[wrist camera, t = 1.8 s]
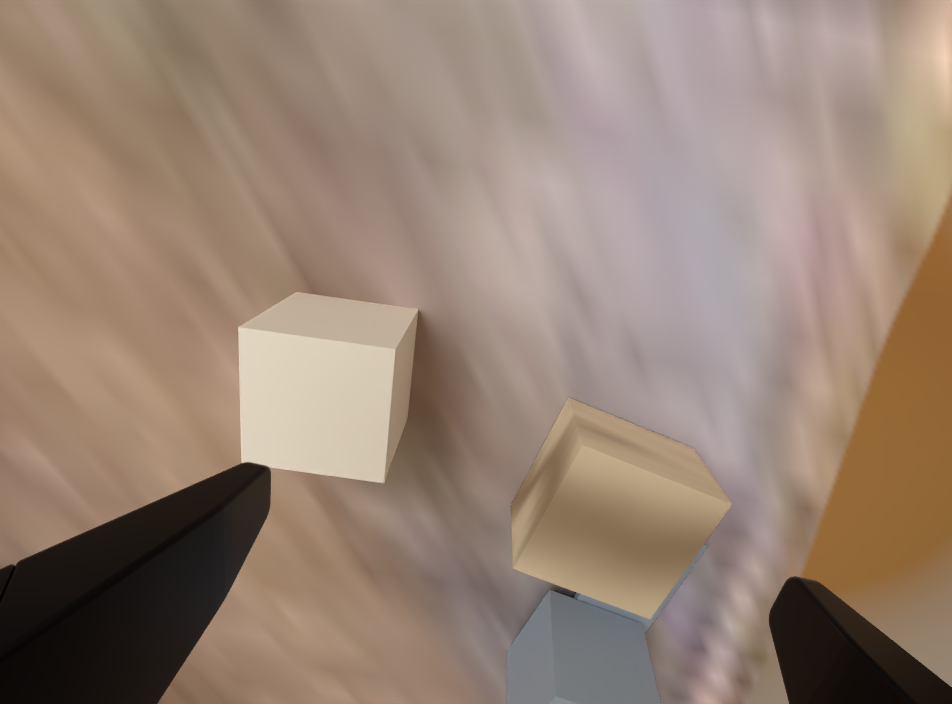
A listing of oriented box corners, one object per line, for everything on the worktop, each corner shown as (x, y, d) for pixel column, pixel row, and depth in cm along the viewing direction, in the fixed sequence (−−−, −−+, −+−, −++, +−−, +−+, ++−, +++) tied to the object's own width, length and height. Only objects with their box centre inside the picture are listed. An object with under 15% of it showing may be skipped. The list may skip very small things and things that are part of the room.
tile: (641, 628, 26) (643, 635, 26) (570, 602, 26) (571, 609, 25) (705, 540, 24) (708, 545, 24) (628, 510, 24) (630, 515, 23)
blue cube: (593, 680, 27) (607, 793, 23) (507, 650, 27) (504, 759, 22) (642, 623, 25) (668, 734, 21) (549, 589, 25) (556, 696, 20)
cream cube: (407, 417, 23) (383, 483, 18) (295, 402, 23) (241, 463, 18) (418, 308, 21) (395, 349, 16) (296, 291, 21) (238, 326, 16)
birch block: (626, 549, 24) (650, 619, 21) (510, 505, 24) (512, 569, 20) (692, 447, 22) (732, 504, 19) (568, 397, 22) (582, 444, 18)
